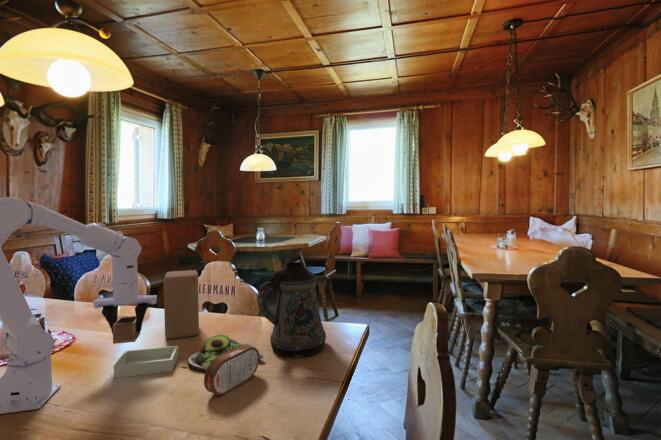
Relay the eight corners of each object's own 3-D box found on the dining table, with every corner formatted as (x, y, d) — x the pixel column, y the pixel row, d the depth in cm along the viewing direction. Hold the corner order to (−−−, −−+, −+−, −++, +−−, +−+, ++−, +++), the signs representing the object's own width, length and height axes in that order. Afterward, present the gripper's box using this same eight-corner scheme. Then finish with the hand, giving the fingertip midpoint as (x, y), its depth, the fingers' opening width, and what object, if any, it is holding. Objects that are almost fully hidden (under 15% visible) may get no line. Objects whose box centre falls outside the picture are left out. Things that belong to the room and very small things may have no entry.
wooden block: (199, 336, 112) (197, 274, 111) (164, 340, 108) (163, 277, 107) (198, 326, 121) (197, 269, 120) (167, 330, 117) (165, 271, 116)
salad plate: (276, 351, 101) (276, 335, 101) (243, 381, 84) (242, 362, 84) (220, 343, 107) (220, 328, 107) (178, 369, 90) (177, 351, 90)
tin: (252, 371, 88) (251, 338, 88) (261, 374, 87) (261, 341, 86) (203, 399, 75) (202, 361, 75) (212, 403, 74) (212, 365, 73)
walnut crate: (134, 341, 90) (134, 322, 90) (113, 343, 89) (112, 324, 89) (140, 333, 96) (140, 315, 96) (120, 335, 95) (119, 317, 94)
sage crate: (172, 371, 88) (172, 359, 88) (114, 377, 85) (113, 365, 85) (178, 355, 97) (178, 345, 97) (125, 361, 94) (125, 350, 93)
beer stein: (336, 343, 105) (336, 262, 104) (296, 369, 89) (295, 272, 88) (294, 332, 114) (293, 257, 113) (250, 353, 98) (249, 266, 97)
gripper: (158, 276, 97) (160, 324, 98) (99, 280, 93) (101, 329, 94) (153, 282, 90) (154, 333, 91) (89, 286, 87) (91, 339, 87)
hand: (127, 332), depth 92 cm, fingers closed on walnut crate, 5 cm apart
